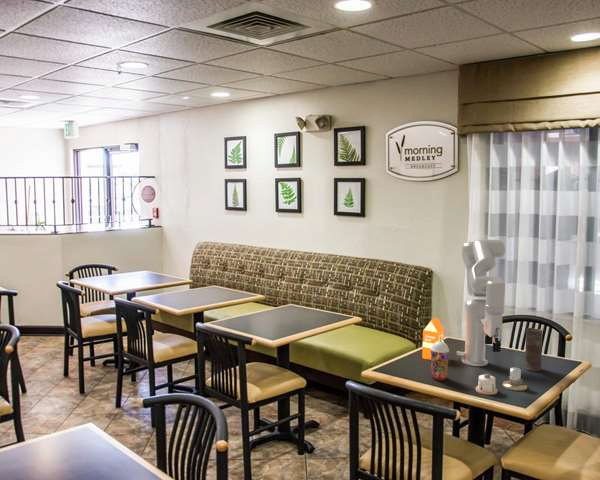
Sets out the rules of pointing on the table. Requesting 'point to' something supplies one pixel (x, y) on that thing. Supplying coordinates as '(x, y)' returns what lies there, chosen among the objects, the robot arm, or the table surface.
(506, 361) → the table surface
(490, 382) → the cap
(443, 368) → the smoothie
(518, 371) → the beige piece
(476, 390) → the coaster
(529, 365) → the candle
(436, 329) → the orange juice
